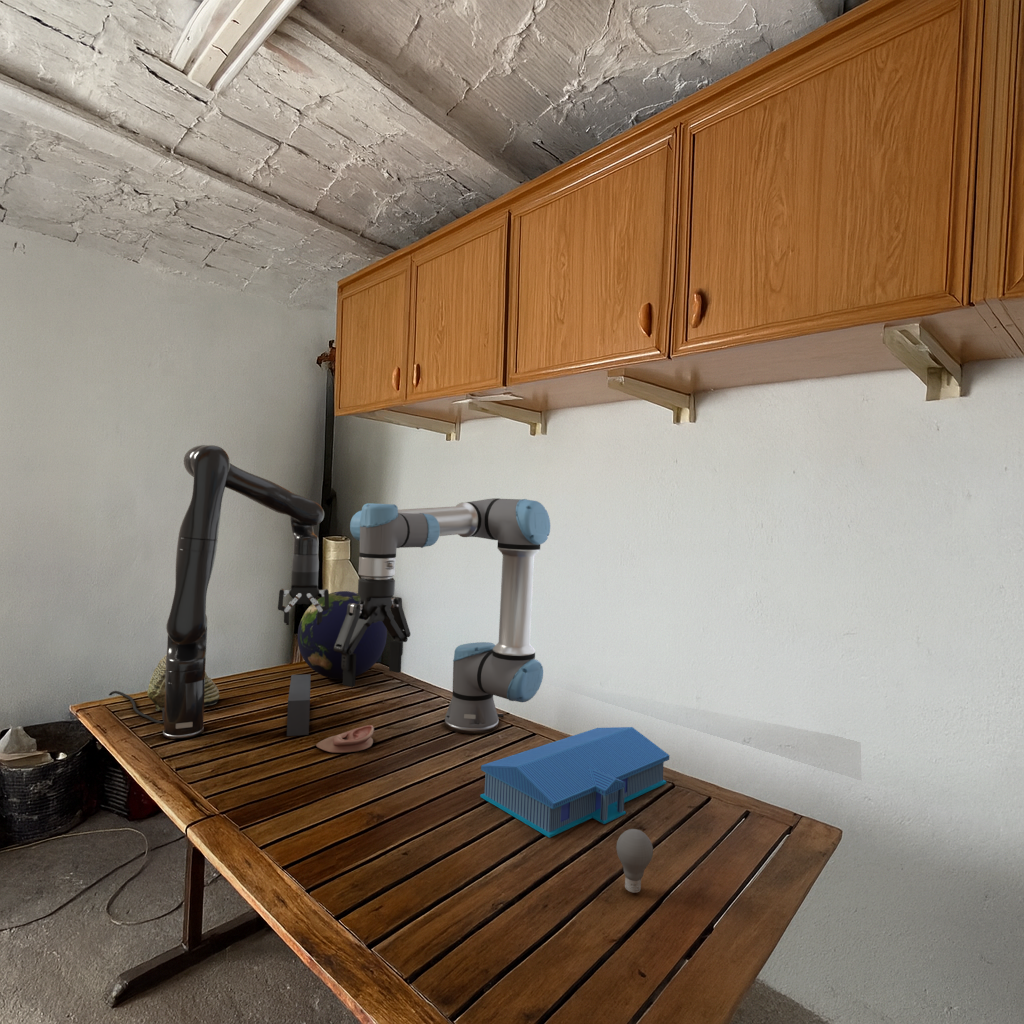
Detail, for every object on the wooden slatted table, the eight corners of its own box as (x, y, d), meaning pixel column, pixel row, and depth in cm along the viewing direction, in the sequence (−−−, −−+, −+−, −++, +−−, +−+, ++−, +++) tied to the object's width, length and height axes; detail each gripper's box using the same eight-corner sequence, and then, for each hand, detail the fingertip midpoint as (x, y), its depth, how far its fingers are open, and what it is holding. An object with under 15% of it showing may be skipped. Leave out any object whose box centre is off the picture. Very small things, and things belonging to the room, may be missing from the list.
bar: (290, 705, 189) (291, 675, 189) (309, 704, 191) (310, 674, 191) (286, 736, 166) (287, 700, 166) (308, 734, 167) (309, 699, 167)
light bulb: (610, 879, 108) (613, 822, 108) (644, 879, 109) (647, 822, 109) (619, 902, 102) (622, 840, 102) (655, 901, 103) (658, 840, 103)
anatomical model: (310, 734, 157) (332, 718, 168) (310, 749, 157) (332, 733, 169) (360, 740, 155) (379, 724, 166) (359, 756, 155) (378, 739, 166)
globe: (276, 681, 212) (279, 592, 211) (333, 662, 239) (336, 583, 239) (350, 695, 201) (354, 601, 200) (401, 673, 228) (404, 590, 228)
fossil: (144, 707, 182) (145, 655, 182) (212, 696, 194) (213, 647, 194) (151, 716, 175) (153, 662, 175) (221, 703, 188) (223, 653, 188)
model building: (561, 845, 119) (564, 792, 119) (478, 796, 137) (480, 750, 137) (678, 787, 145) (680, 744, 145) (596, 753, 163) (598, 714, 163)
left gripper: (278, 570, 180) (276, 627, 180) (330, 571, 184) (328, 626, 185) (280, 567, 187) (278, 622, 188) (330, 568, 192) (327, 621, 192)
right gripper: (345, 584, 120) (340, 695, 120) (428, 574, 141) (424, 669, 141) (317, 580, 124) (313, 688, 124) (403, 571, 145) (399, 663, 145)
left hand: (303, 624), depth 186 cm, fingers open, 8 cm apart
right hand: (372, 678), depth 133 cm, fingers open, 13 cm apart
